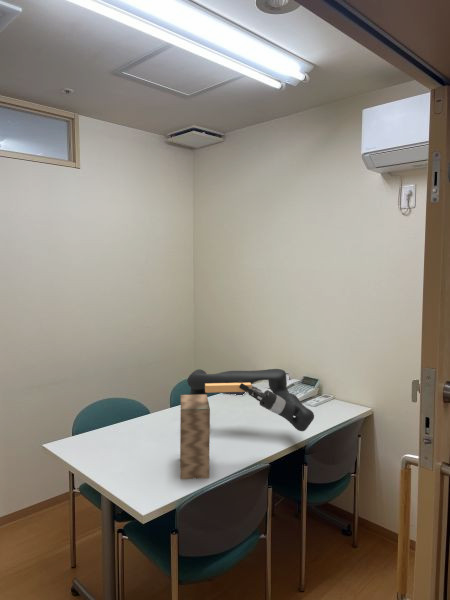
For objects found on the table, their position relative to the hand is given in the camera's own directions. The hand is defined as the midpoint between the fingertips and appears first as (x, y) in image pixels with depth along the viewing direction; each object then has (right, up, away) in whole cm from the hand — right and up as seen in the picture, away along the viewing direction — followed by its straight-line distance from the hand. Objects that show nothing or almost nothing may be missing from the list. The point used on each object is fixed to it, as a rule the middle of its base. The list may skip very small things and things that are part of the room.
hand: (239, 384), depth 194 cm
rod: (-5, -3, 0) cm, 6 cm away
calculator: (0, -29, +117) cm, 120 cm away
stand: (-20, -38, +3) cm, 43 cm away
